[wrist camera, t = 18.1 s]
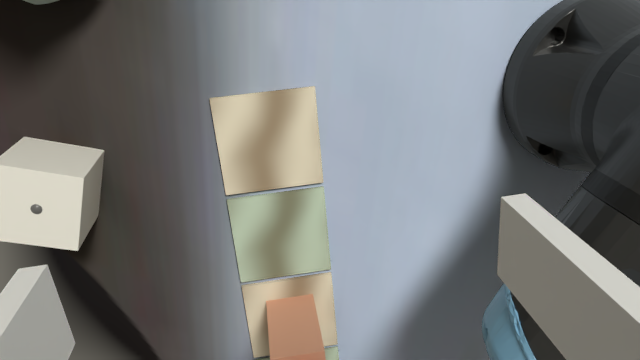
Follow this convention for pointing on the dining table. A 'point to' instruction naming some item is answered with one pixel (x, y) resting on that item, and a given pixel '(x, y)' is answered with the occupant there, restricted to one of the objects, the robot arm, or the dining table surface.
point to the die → (49, 193)
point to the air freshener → (40, 1)
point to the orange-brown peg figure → (294, 329)
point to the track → (276, 204)
